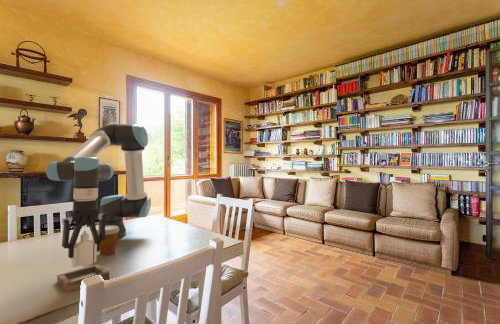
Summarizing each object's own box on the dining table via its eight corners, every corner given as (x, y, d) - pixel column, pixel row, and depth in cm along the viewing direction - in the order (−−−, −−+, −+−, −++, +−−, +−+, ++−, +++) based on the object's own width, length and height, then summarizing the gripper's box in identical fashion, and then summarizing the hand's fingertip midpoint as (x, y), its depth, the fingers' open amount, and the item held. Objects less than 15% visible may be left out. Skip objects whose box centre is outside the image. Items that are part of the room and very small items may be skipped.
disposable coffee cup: (94, 258, 111) (95, 231, 111) (96, 251, 120) (97, 226, 120) (118, 255, 116) (119, 229, 116) (119, 248, 124) (119, 224, 124)
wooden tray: (57, 282, 89) (57, 275, 89) (97, 270, 99) (97, 264, 99) (67, 292, 82) (67, 285, 82) (109, 278, 92) (109, 272, 92)
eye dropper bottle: (79, 261, 93) (80, 229, 93) (95, 261, 93) (96, 229, 93) (71, 266, 88) (72, 232, 88) (88, 266, 89) (89, 232, 89)
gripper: (57, 203, 81) (55, 275, 81) (117, 198, 96) (115, 258, 96) (50, 201, 86) (48, 268, 86) (108, 196, 100) (107, 254, 100)
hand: (84, 263), depth 91 cm, fingers closed on eye dropper bottle, 6 cm apart
